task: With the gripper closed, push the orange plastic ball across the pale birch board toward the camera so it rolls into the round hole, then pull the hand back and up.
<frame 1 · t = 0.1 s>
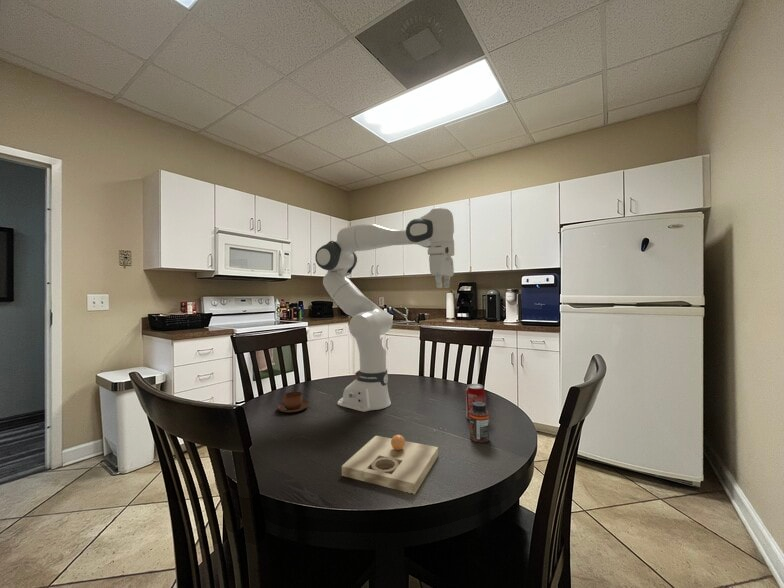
hand: (443, 288, 123), 48 cm above the table, tool pointing down, fingers open, 8 cm apart
cup and saucer: (293, 410, 133), on the table
deck: (392, 465, 89), on the table
ball: (398, 442, 92), point 4 cm above the table, touching deck
soda can: (475, 419, 119), on the table
supplement bottle: (479, 439, 103), on the table
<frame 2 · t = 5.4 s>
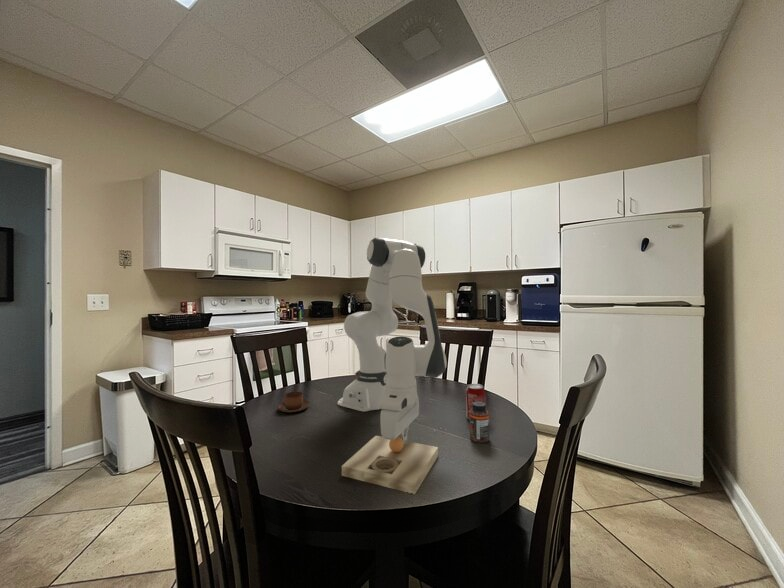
hand: (402, 442, 94), 4 cm above the table, tool pointing down, fingers closed
ball: (396, 444, 91), point 4 cm above the table, tilted 35°, touching deck
everything else where it was.
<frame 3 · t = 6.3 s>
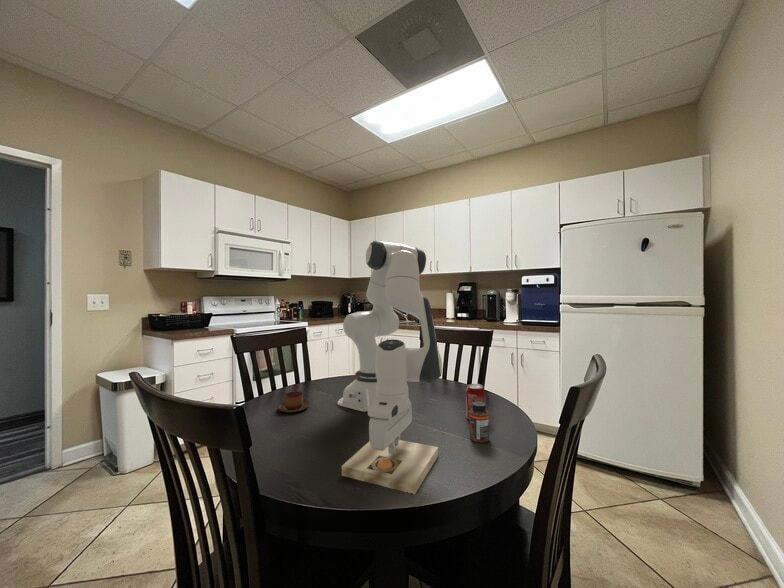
hand: (393, 451, 89), 4 cm above the table, tool pointing down, fingers closed
ball: (384, 467, 84), point 2 cm above the table, tilted 49°
everything else where it was.
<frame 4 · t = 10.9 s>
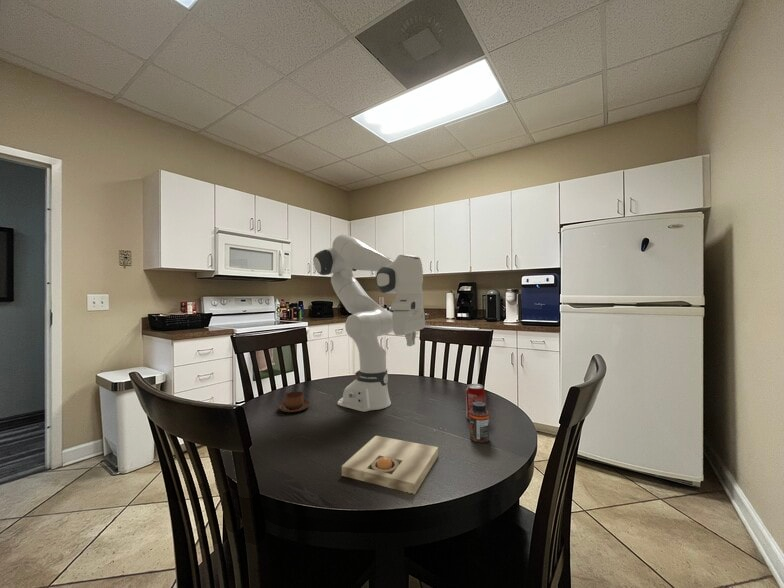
hand: (410, 345, 108), 29 cm above the table, tool pointing down, fingers closed
ball: (384, 465, 85), point 2 cm above the table, tilted 71°
everything else where it was.
at the end: ball 0.4 cm from the target spot on the deck, point 2.0 cm above the deck's base; ball moved 8.5 cm from its start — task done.
